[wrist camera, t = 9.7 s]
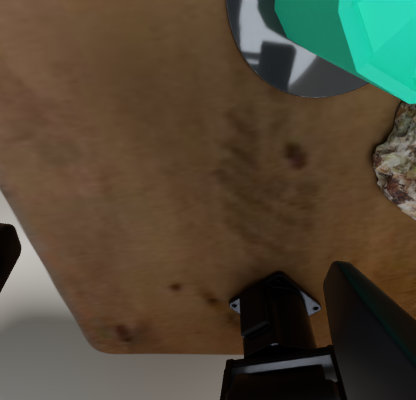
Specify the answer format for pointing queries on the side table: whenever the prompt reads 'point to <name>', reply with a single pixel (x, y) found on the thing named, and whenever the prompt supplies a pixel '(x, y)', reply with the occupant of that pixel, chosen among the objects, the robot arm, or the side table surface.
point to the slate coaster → (283, 54)
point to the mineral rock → (399, 161)
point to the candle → (359, 38)
